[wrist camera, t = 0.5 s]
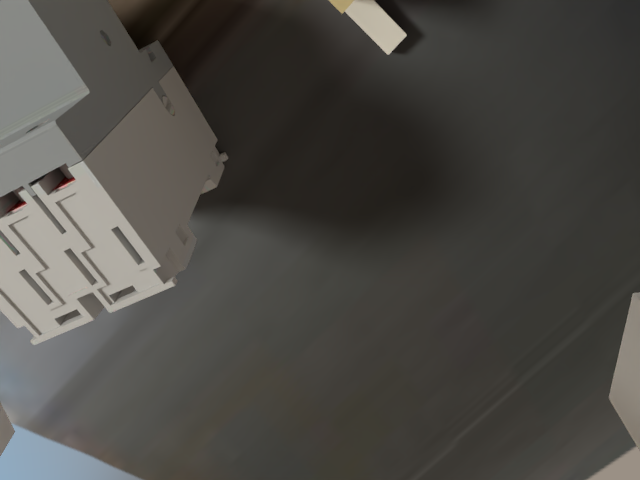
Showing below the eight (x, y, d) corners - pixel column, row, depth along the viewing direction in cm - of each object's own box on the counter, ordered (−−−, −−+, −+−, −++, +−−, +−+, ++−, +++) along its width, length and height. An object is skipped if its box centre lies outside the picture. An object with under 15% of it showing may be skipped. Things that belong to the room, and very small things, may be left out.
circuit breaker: (94, -67, 31) (-74, -52, 18) (228, 157, 37) (178, 290, 24) (-14, -2, 32) (-241, 56, 19) (132, 202, 39) (37, 349, 26)
